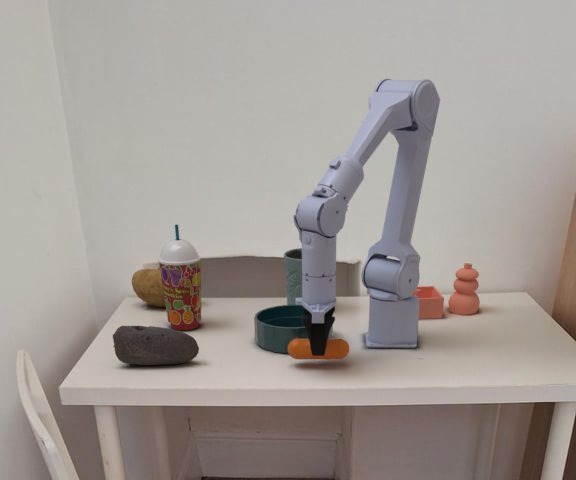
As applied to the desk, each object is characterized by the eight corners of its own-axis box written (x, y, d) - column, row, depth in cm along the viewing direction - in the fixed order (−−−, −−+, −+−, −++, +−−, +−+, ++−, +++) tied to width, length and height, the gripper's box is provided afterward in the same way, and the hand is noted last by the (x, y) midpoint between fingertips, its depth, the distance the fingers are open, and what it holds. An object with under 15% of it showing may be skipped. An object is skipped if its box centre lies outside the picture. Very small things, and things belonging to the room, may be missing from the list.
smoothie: (157, 330, 153) (146, 227, 143) (177, 318, 160) (168, 219, 149) (193, 334, 150) (185, 230, 140) (212, 322, 157) (205, 222, 146)
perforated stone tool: (202, 358, 138) (199, 321, 135) (198, 369, 134) (195, 331, 130) (121, 358, 139) (116, 322, 135) (115, 369, 134) (109, 331, 131)
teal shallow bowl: (332, 329, 152) (332, 304, 149) (332, 354, 139) (332, 328, 137) (259, 328, 153) (258, 304, 150) (252, 354, 140) (251, 328, 138)
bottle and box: (399, 319, 157) (402, 271, 152) (391, 306, 165) (394, 260, 160) (484, 316, 158) (490, 269, 153) (472, 304, 166) (477, 258, 161)
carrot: (349, 355, 135) (349, 335, 133) (349, 362, 132) (350, 342, 130) (288, 355, 135) (288, 335, 134) (287, 362, 132) (286, 342, 131)
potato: (192, 312, 163) (189, 274, 159) (129, 311, 164) (124, 274, 160) (200, 299, 172) (197, 263, 168) (140, 299, 173) (135, 263, 169)
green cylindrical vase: (314, 300, 170) (315, 245, 163) (339, 311, 162) (340, 254, 156) (276, 307, 165) (274, 251, 159) (299, 319, 158) (299, 261, 152)
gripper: (297, 262, 132) (297, 337, 139) (293, 284, 120) (294, 365, 127) (337, 262, 132) (335, 337, 139) (337, 284, 119) (335, 365, 127)
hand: (318, 350), depth 133 cm, fingers closed on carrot, 3 cm apart
